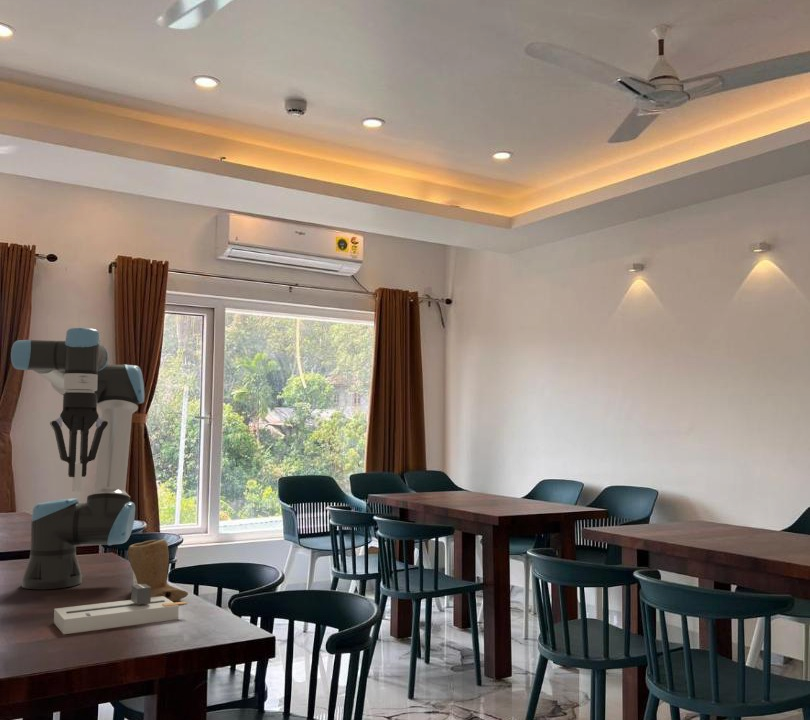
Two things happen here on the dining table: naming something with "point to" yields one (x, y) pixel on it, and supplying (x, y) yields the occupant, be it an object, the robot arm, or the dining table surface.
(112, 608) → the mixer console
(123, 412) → the robot arm
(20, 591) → the dining table surface
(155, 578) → the tan boot
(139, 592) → the fader knob
